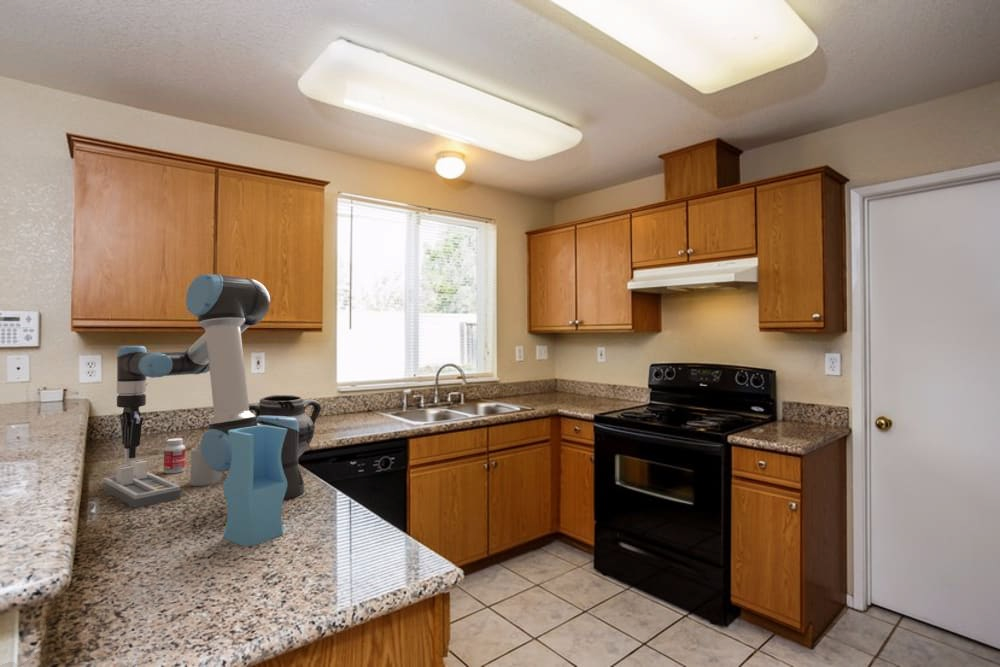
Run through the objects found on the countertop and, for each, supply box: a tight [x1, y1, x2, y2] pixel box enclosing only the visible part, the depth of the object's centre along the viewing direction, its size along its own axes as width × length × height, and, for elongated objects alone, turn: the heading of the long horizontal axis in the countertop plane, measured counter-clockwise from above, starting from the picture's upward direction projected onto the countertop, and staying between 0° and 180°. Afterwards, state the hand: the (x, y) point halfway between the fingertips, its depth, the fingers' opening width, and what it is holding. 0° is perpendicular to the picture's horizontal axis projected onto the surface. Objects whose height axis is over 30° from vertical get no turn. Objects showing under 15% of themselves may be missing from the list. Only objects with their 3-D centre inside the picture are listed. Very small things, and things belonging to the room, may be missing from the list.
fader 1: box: [115, 464, 133, 486], centre depth 151 cm, size 4×3×5 cm
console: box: [102, 471, 181, 509], centre depth 150 cm, size 27×11×3 cm, turn 53°
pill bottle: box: [163, 437, 186, 475], centre depth 174 cm, size 6×6×11 cm
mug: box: [189, 446, 222, 487], centre depth 164 cm, size 12×8×11 cm
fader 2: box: [131, 459, 149, 479], centre depth 157 cm, size 4×3×5 cm
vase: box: [222, 425, 287, 547], centre depth 120 cm, size 10×10×25 cm
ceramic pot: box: [249, 394, 322, 458], centre depth 184 cm, size 29×23×25 cm
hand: (130, 467), depth 162 cm, fingers closed
